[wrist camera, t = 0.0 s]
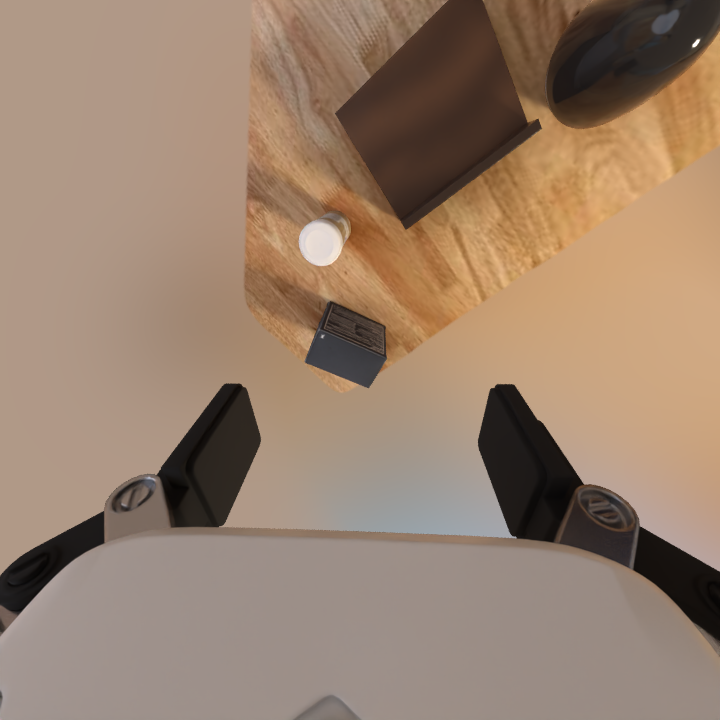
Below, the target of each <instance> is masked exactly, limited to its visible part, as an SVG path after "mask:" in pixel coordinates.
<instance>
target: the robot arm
mask: <svg viewBox="0 0 720 720" xmlns="http://www.w3.org/2000/svg"><path fill="white" fill-rule="evenodd" d="M260 442H261V437H260V433H259V429H258V426H257V423H256V419H255V416H254V412H253V409H252V406H251V402H250V399H249V395H248V392H247V389H246V388H245V387H243V386H242V385H241V384H224V385H223V386H222V388H221V389H220V390H219V391H218V393H217V394H216V395H215V397H214V398H213V399H212V401H211V402H210V403H209V405H208V406H207V407H206V409H205V410H204V411H203V413H202V414H201V415H200V417H199V418H198V419H197V421H196V422H195V423H194V425H193V426H192V427H191V429H190V430H189V431H188V433H187V434H186V435H185V436H184V438H183V439H182V440H181V442H180V443H179V444H178V446H177V447H176V448H175V450H174V451H173V452H172V454H171V455H170V456H169V458H168V459H167V461H166V462H165V463H164V464H163V466H162V467H161V470H160V471H159V473H158V474H157V475H155V474H144V475H139V476H137V477H134V478H132V479H130V480H128V481H126V482H124V483H123V484H122V485H120V486H119V487H118V488H116V489H115V490H114V491H113V493H112V494H111V495H110V496H109V498H108V499H107V501H106V503H105V508H104V511H103V512H101V513H99V514H97V515H96V516H93V517H92V518H90V519H88V520H86V521H84V522H82V523H81V524H79V525H77V526H75V527H73V528H71V529H69V530H67V531H66V532H63V533H62V534H60V535H58V536H56V537H54V538H52V539H50V540H49V541H47V542H45V543H43V544H41V545H39V546H37V547H35V548H33V549H32V550H30V551H29V552H27V553H25V554H24V555H22V556H21V557H19V558H18V559H17V560H16V561H14V562H13V563H12V564H11V565H10V566H9V567H8V568H7V569H6V570H5V571H4V572H3V573H2V574H1V576H0V720H720V572H719V571H717V570H716V569H714V568H712V567H710V566H709V565H706V564H705V563H703V562H702V561H700V560H698V559H696V558H695V557H693V556H691V555H689V554H688V553H686V552H684V551H682V550H681V549H679V548H677V547H675V546H674V545H672V544H670V543H668V542H667V541H665V540H663V539H661V538H659V537H658V536H656V535H654V534H653V533H651V532H649V531H647V530H646V529H644V528H642V527H640V524H639V518H638V516H637V514H636V512H635V510H634V509H633V508H632V507H631V505H630V504H629V503H628V502H627V501H625V500H624V499H623V498H622V497H621V496H619V495H618V494H616V493H614V492H612V491H611V490H609V489H606V488H603V487H601V486H596V485H591V484H589V485H584V484H583V482H582V481H581V479H580V478H579V476H578V475H577V473H576V472H575V470H574V469H573V467H572V466H571V464H570V463H569V461H568V460H567V458H566V457H565V456H564V454H563V453H562V451H561V450H560V448H559V447H558V445H557V443H556V442H555V441H554V439H553V437H552V436H551V435H550V433H549V432H548V430H547V429H546V427H545V426H544V424H543V423H542V422H541V421H539V420H537V419H536V417H535V416H534V414H533V412H532V411H531V409H530V408H529V406H528V405H527V403H526V402H525V400H524V399H523V397H522V396H521V394H520V393H519V391H518V390H517V388H516V387H515V385H512V384H497V385H496V386H495V388H491V389H490V392H489V396H488V400H487V405H486V409H485V413H484V417H483V422H482V426H481V430H480V434H479V438H478V447H479V451H480V453H481V456H482V459H483V461H484V464H485V467H486V469H487V472H488V475H489V478H490V480H491V483H492V486H493V488H494V491H495V494H496V496H497V499H498V502H499V505H500V508H501V510H502V513H503V516H504V518H505V521H506V524H507V527H508V529H509V532H510V534H511V535H512V536H516V537H517V539H515V538H497V537H480V536H460V535H459V536H458V535H436V534H410V533H386V532H359V531H330V530H329V531H328V530H301V529H267V528H229V527H219V526H222V525H224V523H225V522H226V520H227V517H228V515H229V513H230V510H231V508H232V506H233V504H234V502H235V499H236V497H237V495H238V493H239V491H240V488H241V486H242V484H243V482H244V479H245V477H246V475H247V472H248V470H249V468H250V466H251V464H252V462H253V459H254V457H255V455H256V453H257V450H258V448H259V445H260Z"/></svg>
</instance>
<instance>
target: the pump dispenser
mask: <svg viewBox="0 0 720 720" xmlns="http://www.w3.org/2000/svg"><path fill="white" fill-rule="evenodd" d="M719 31H720V0H594V1H592V2H591V3H590V4H588V5H587V6H586V7H585V8H584V9H583V10H582V11H581V12H580V13H579V14H578V15H577V16H576V17H575V18H574V19H573V20H572V21H571V23H570V24H569V25H568V27H567V28H566V30H565V31H564V33H563V34H562V36H561V37H560V39H559V41H558V43H557V45H556V47H555V49H554V52H553V54H552V57H551V60H550V64H549V67H548V71H547V75H546V83H545V93H546V100H547V103H548V106H549V108H550V110H551V112H552V113H553V115H554V116H555V117H556V118H557V120H559V121H560V122H561V123H562V124H564V125H566V126H568V127H571V128H575V129H587V128H593V127H597V126H600V125H603V124H606V123H608V122H610V121H613V120H615V119H617V118H619V117H621V116H623V115H625V114H627V113H629V112H630V111H632V110H634V109H636V108H637V107H639V106H640V105H642V104H644V103H645V102H647V101H648V100H650V99H651V98H652V97H654V96H655V95H657V94H658V93H659V92H661V91H662V90H663V89H665V88H666V87H667V86H669V85H670V84H671V83H673V82H674V81H675V80H676V79H677V78H679V77H680V76H681V75H682V74H683V73H684V72H685V71H687V70H688V69H689V68H690V67H691V66H692V65H693V64H694V63H695V62H696V61H697V60H698V59H699V58H700V56H701V55H702V54H703V53H704V52H705V51H706V49H707V48H708V47H709V46H710V44H711V43H712V42H713V40H714V39H715V37H716V36H717V34H718V33H719Z"/></svg>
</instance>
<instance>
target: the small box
mask: <svg viewBox="0 0 720 720" xmlns="http://www.w3.org/2000/svg"><path fill="white" fill-rule="evenodd" d="M385 328H386V327H385V326H383V325H381V324H379V323H377V322H375V321H373V320H370V319H368V318H366V317H364V316H362V315H359V314H357V313H355V312H353V311H351V310H349V309H346V308H344V307H342V306H340V305H337V304H335V303H333V302H331V301H330V302H328V304H327V307H326V309H325V311H324V314H323V317H322V319H321V321H320V322H319V325H318V328H317V331H316V333H315V336H314V339H313V341H312V344H311V346H310V349H309V352H308V354H307V357H306V359H305V363H307V364H310V365H312V366H315V367H317V368H320V369H322V370H325V371H327V372H330V373H332V374H335V375H337V376H340V377H342V378H345V379H347V380H350V381H352V382H354V383H357V384H359V385H362V386H364V387H367V388H369V387H370V386H371V384H372V383H373V381H374V379H375V378H376V376H377V374H378V373H379V371H380V370H381V368H382V366H383V365H384V363H385V361H386V360H387V355H386V338H385Z"/></svg>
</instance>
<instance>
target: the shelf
mask: <svg viewBox="0 0 720 720" xmlns="http://www.w3.org/2000/svg"><path fill="white" fill-rule="evenodd" d="M335 114H336V116H337V117H338V119H339V121H340V122H341V124H342V126H343V127H344V129H345V131H346V132H347V134H348V135H349V137H350V139H351V140H352V142H353V144H354V145H355V147H356V149H357V150H358V152H359V153H360V155H361V157H362V158H363V160H364V162H365V163H366V165H367V167H368V168H369V170H370V172H371V173H372V175H373V176H374V178H375V180H376V181H377V183H378V185H379V186H380V188H381V190H382V191H383V193H384V194H385V196H386V198H387V199H388V201H389V203H390V204H391V206H392V208H393V209H394V211H395V213H396V214H397V216H398V217H399V219H400V221H401V223H402V224H403V226H404V228H405V229H408V228H409V227H411V226H412V225H413V224H415V223H416V222H417V221H419V220H420V219H421V218H423V217H424V216H425V215H427V214H428V213H429V212H431V211H432V210H433V209H435V208H436V207H437V206H439V205H440V204H441V203H443V202H444V201H445V200H447V199H448V198H450V197H451V196H452V195H454V194H455V193H456V192H458V191H459V190H460V189H462V188H463V187H464V186H466V185H467V184H468V183H470V182H471V181H472V180H474V179H475V178H476V177H478V176H479V175H480V174H482V173H483V172H484V171H486V170H487V169H489V168H490V167H491V166H493V165H494V164H495V163H497V162H498V161H499V160H501V159H502V158H503V157H505V156H506V155H507V154H509V153H510V152H511V151H513V150H514V149H515V148H517V147H518V146H519V145H521V144H522V143H524V142H525V141H526V140H528V139H529V138H530V137H532V136H533V135H534V134H536V133H537V132H538V131H540V130H541V129H542V128H541V125H540V122H539V119H537V120H534V121H532V122H529V123H528V122H527V120H526V117H525V114H524V112H523V109H522V106H521V103H520V101H519V98H518V95H517V93H516V90H515V87H514V84H513V82H512V79H511V76H510V74H509V71H508V68H507V65H506V63H505V60H504V57H503V55H502V52H501V49H500V46H499V44H498V41H497V38H496V36H495V33H494V30H493V28H492V25H491V22H490V19H489V17H488V14H487V11H486V9H485V6H484V3H483V0H448V1H447V2H446V3H445V4H444V5H443V6H442V7H441V8H440V9H439V10H438V11H437V12H436V13H435V14H434V15H433V16H432V17H431V18H430V19H429V20H428V21H427V22H426V23H425V24H424V25H423V26H422V27H421V28H420V29H419V30H418V31H417V32H416V33H415V34H414V35H413V36H412V37H411V38H410V39H409V40H408V41H407V42H406V43H405V44H404V45H403V46H402V47H401V48H400V49H399V50H398V51H397V52H396V53H395V54H394V55H393V56H392V57H391V58H390V59H389V60H388V61H387V62H386V63H385V64H384V65H383V66H382V67H381V68H380V69H379V70H378V71H377V72H376V73H375V74H374V75H373V76H372V77H371V78H370V79H369V80H368V81H367V82H366V83H365V84H364V85H363V86H362V87H361V88H360V89H359V90H358V91H357V92H356V93H355V94H354V95H353V96H352V97H351V98H350V99H349V100H348V101H347V102H346V103H345V104H344V105H343V106H342V107H341V108H340V109H339V110H338V111H337V112H336V113H335Z"/></svg>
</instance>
